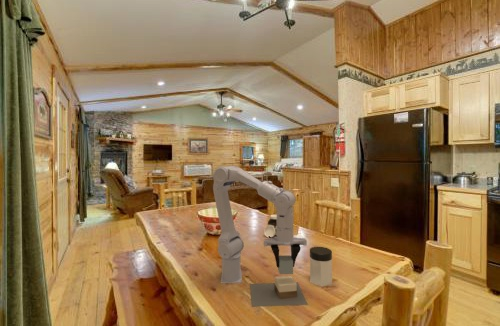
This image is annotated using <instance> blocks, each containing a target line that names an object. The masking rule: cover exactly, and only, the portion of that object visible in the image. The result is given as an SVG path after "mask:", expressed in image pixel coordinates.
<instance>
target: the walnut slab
mask: <svg viewBox="0 0 500 326" xmlns="http://www.w3.org/2000/svg"><path fill="white" fill-rule="evenodd" d="M274 290H275V292H276V293H277V295H278V297H279V298H280V299H285V298H292V297H297V291H289V292H279V291H278V289H277V287H276V285H275V284H274Z"/></svg>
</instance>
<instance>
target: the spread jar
mask: <svg viewBox="0 0 500 326" xmlns="http://www.w3.org/2000/svg"><path fill="white" fill-rule="evenodd" d="M263 233H264V236H265V237H266V238H269V237H268V236H270V237H271V238H274V237H277V214H271V215H269V219H268V221H267V226H265V228H264V229H263Z"/></svg>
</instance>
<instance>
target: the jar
mask: <svg viewBox="0 0 500 326" xmlns="http://www.w3.org/2000/svg"><path fill="white" fill-rule="evenodd" d="M332 259H333V250H332V249H330V248H328V247H325V246H313V247H311V248H310V249H309V283H310V284H313V285H316V286H319V287H321V288H322V287H327V286H332V285H333V260H332Z"/></svg>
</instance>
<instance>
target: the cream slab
mask: <svg viewBox="0 0 500 326" xmlns="http://www.w3.org/2000/svg"><path fill="white" fill-rule="evenodd" d="M274 283H275V285H276V287H277V289H278V291H279V292H289V291H297V284H296V281H295V280H294V278H293V277H292V276H291V275H285V276H283V275H282V276H274Z"/></svg>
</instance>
